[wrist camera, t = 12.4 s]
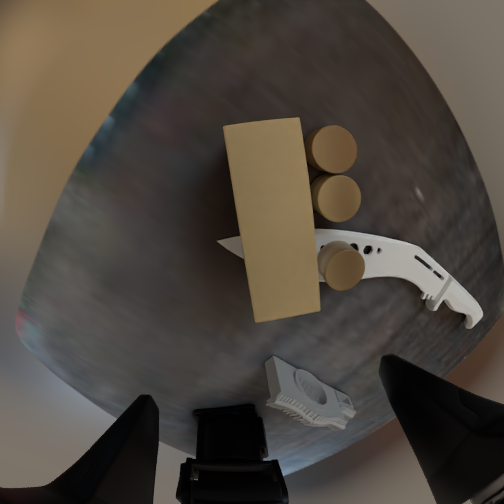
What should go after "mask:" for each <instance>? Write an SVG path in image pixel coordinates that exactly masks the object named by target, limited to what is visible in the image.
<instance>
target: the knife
mask: <svg viewBox="0 0 504 504" xmlns="http://www.w3.org/2000/svg"><path fill="white" fill-rule="evenodd" d="M315 238H316V250H317V256H318V254H319V252H320V247H321V246H322V245H326V244H328V243H330V242H332V241H344V242H346V243H348V244H352V243H355V244H357V247H358V249H357V251H358V252H359V253H360V254H361V255H362V257H363V258H364V261H365V271H364V275H363V277H362V279H366V278H373V277H388V276H391V277H398V278H404V279H406V280H409V281H411V282H413V283H414V284H415V285H417V286H418V287H419V288H420V290H421V291H422V295H421V298H422V299H425V298H426V302H425V304H426V307H427V308H428V309H429V310H430V311H435V310H437V308H438V307H439V305H440V304H441V302H442V301H443V300H444V302H445V303H446V305H447V306H448V307H449V308H450V309H451V310H453V311H456V312H460V313H464V314H465V315H466V318H465V322H464V323H465V327H466V328H469V329H471V328H472V327H473V326H474V325H475V324H476V323H478V321H479V320H480V319H481V318H482V316H483V312H482V309H481V307H480V306H479V304H478V303H477V301H476V300H475V299H474V298H473V297H472V296H471V295H470V294H469V293H468V292H467V291H466V290H465V289H464V288H463V287H462V286H461V285H460V284H459V283H458V282H457V281H456V280H455V279H454V278H453V277H452V276H451V275H450V274H448V273H447V272H446V271H445V270H444V269H443V268H442V267H441V266H440V265H439V264H438V263H437V262H436V261H434V260H433V259H432V258H431V257H430V256H429V255H428V254H427V253H426V252H424V250H422V249H421V248H420V247H418V246H415V245H413V244H410V243H407V242H403V241H399V240H395V239H390V238H386V237H382V236H376V235H371V234H365V233H358V232H351V231H343V230H334V229H315ZM217 242H218V243H220V244H221V245H222V246H223V247H225V248H226V249H228V250H229V251H231V252H232V253H234V254H236V255H237V256H239V257H241V258H243V259H244V255H243V249H242V243H241V237H240V236H237V237H232V238H227V239H223V240H218V241H217ZM366 245H369V246H371V248H372V250H371V251H370V253H369V254H364V252H363V250H364V248H365V247H366ZM378 248H380V251H379V252H377V250H378ZM415 255H417V256H419V257H420V258H421V259H422V260H424V261H425V262H426V263H427V264H429V265H430V266H431V268H430V269H428V268H427V267H425V266H424V265H423V264H422V263H420V262H419V261H418V260H416V259H415V258H414V256H415ZM434 270H435V271H437V272H438V273H439V274H440V275H441V277H440V278H438V277H437V276H436V275H435V274H434V273H433V271H434ZM318 276H319V282H326V281H325V280H324V278H323V277H322V276H321V274H320V273H319V271H318Z"/></svg>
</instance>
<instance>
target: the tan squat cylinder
mask: <svg viewBox="0 0 504 504" xmlns="http://www.w3.org/2000/svg"><path fill="white" fill-rule="evenodd" d="M317 262H318V271H319V273H320V274H321V276H322V277H323V278H324V280H325V281H326V283H327V284H328V285H329V286H330V287H331V288H333V289H335V290H339V291H344V290H348V289H350V288H352V287H354V286H355V285H357V284H358V283H359V281H360V280H361V279H362V277H363V275H364V271H365V261H364V258H363V257H362V255H361V254H360V253H359V252H358V251H357V250H355V249H354V248H353V247H352V246H350V245H349V244H348V243H346V242H344V241H332V242H330V243H328V244H326V245H325V246H324V247H323V248H322V249H321V250H320V252H319V254H318V256H317Z"/></svg>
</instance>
